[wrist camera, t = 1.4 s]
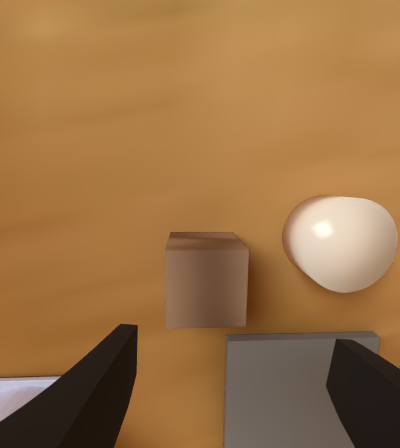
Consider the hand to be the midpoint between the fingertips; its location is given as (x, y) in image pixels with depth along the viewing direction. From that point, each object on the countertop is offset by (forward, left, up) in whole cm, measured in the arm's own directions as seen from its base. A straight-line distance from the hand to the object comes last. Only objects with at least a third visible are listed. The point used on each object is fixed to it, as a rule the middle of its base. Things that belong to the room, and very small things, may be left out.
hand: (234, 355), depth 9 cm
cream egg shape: (+8, +2, -10) cm, 13 cm away
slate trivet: (+7, -12, -10) cm, 17 cm away
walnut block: (-1, 0, -10) cm, 10 cm away
